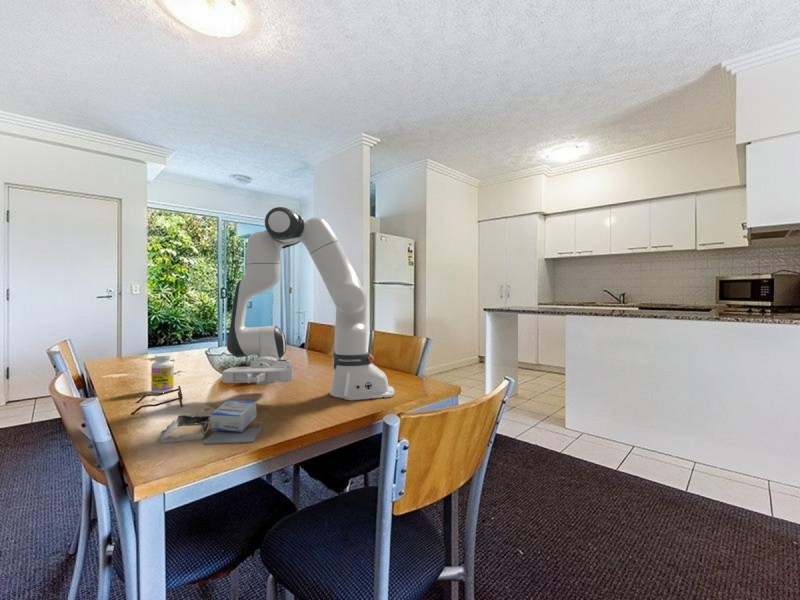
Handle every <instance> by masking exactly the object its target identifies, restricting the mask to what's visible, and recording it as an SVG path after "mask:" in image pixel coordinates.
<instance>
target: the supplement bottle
mask: <svg viewBox="0 0 800 600" xmlns="http://www.w3.org/2000/svg"><path fill="white" fill-rule="evenodd" d="M154 360H155V361H154V362H152V364H151V370H150V373H151V377H150V378H151V380H150V381H151V387H150V388H151V393H152V394H160V393H163V392H167V391H171V390H174V386H175V385H174V384H175V382H174V377H175V376H174V369H175V367H174V362H173V361H171V354H169V353H161V354H160V353H159V354H155V355H154Z"/></svg>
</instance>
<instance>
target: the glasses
mask: <svg viewBox="0 0 800 600" xmlns="http://www.w3.org/2000/svg"><path fill="white" fill-rule="evenodd" d="M174 392H177V396H178V397H176V398H172V399H169V400H164V401H162V402H159V403H155V404H153V403H152V404H151V403H150V404H144V405H140V406H139V407H137V408H136V409H135V410H133V412H131V413H130V415H135V414H136V413H137V412H139V411H140V410H141V409H143V408H148V407H150V408H151V407H152V408H153V407H158V406H161V405H166V404H168V403H172V402H176V401H178V402H179V406H180V407H181V408H182V407H183V406H182V405H183V401H182V399H184V397H183V392H182V388H181V385H178V387H177V388H175V389H173V390H171V391H167V392H164V393H151V394H144V395H142V397H141V398H140V399H138V400H137V401H136V402H135V404H138V403H140V402H141V401H142V400H144V399H145V398H146V397H160V396H164V395H167V394H170V393H171V394H172V393H174Z"/></svg>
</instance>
